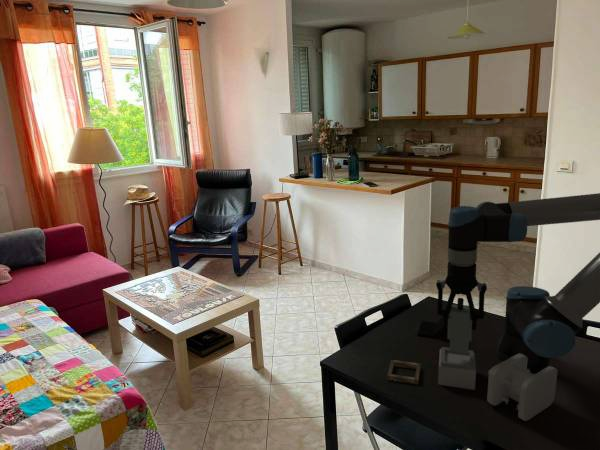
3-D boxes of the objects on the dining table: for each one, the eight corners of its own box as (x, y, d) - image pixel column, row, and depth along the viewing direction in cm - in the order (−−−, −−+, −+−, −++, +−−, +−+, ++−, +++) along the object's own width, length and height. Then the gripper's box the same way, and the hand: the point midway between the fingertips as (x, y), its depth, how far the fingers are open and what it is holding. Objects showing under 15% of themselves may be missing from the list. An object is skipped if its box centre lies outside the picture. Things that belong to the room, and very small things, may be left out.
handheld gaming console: (416, 318, 167) (433, 301, 163) (431, 329, 168) (449, 312, 163) (415, 337, 157) (434, 319, 153) (432, 348, 157) (451, 331, 153)
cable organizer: (521, 427, 111) (525, 386, 108) (484, 405, 120) (486, 367, 117) (554, 405, 119) (559, 366, 116) (517, 386, 128) (520, 349, 125)
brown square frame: (420, 367, 138) (420, 363, 138) (418, 384, 130) (418, 380, 130) (391, 363, 141) (391, 359, 141) (387, 380, 133) (387, 375, 133)
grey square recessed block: (473, 370, 136) (474, 350, 134) (474, 389, 126) (476, 368, 125) (439, 366, 139) (439, 345, 137) (438, 384, 130) (438, 363, 128)
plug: (467, 343, 132) (469, 296, 128) (468, 351, 127) (470, 303, 123) (449, 341, 133) (451, 294, 129) (449, 349, 129) (451, 301, 125)
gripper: (496, 259, 124) (491, 335, 130) (428, 256, 130) (427, 328, 136) (498, 268, 117) (493, 348, 123) (427, 264, 123) (426, 340, 129)
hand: (459, 337), depth 129 cm, fingers closed on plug, 5 cm apart
